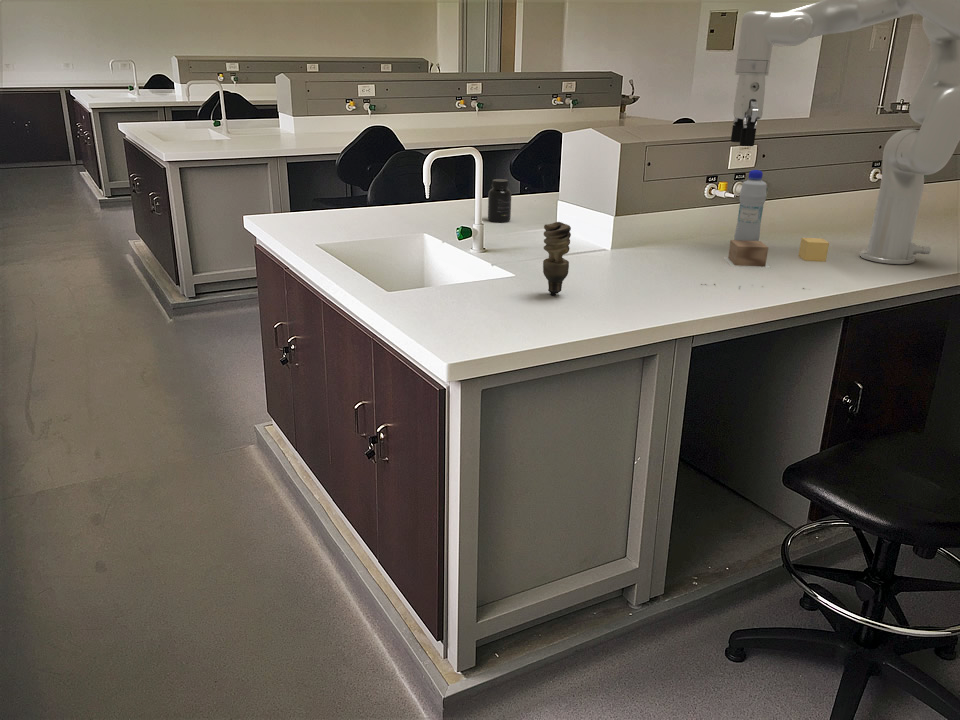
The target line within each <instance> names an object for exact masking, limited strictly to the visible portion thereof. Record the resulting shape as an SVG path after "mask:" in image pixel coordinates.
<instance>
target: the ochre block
mask: <svg viewBox="0 0 960 720" xmlns="http://www.w3.org/2000/svg"><path fill="white" fill-rule="evenodd" d="M829 246H830V242H828V240H825V239H824V238H822V237H821V238H818V237H817V238H815V237H801V239H800V245H799V250H798V257H799V258H800V259H802V260H803V261H804V262H827V258H828V257H827V256H828V253H829V252H828V251H829Z"/></svg>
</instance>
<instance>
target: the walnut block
mask: <svg viewBox="0 0 960 720" xmlns="http://www.w3.org/2000/svg"><path fill="white" fill-rule="evenodd" d="M768 253H769V246H767V245H766V244H765V243H763V242H762V241H761V240H759V241H744V240H734V239H730V243H729V249H728V259H729V260H730V261H731V262H732V263H733V264H734V265H738V266H763V267H765V266H766V264H767V259H768Z"/></svg>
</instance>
